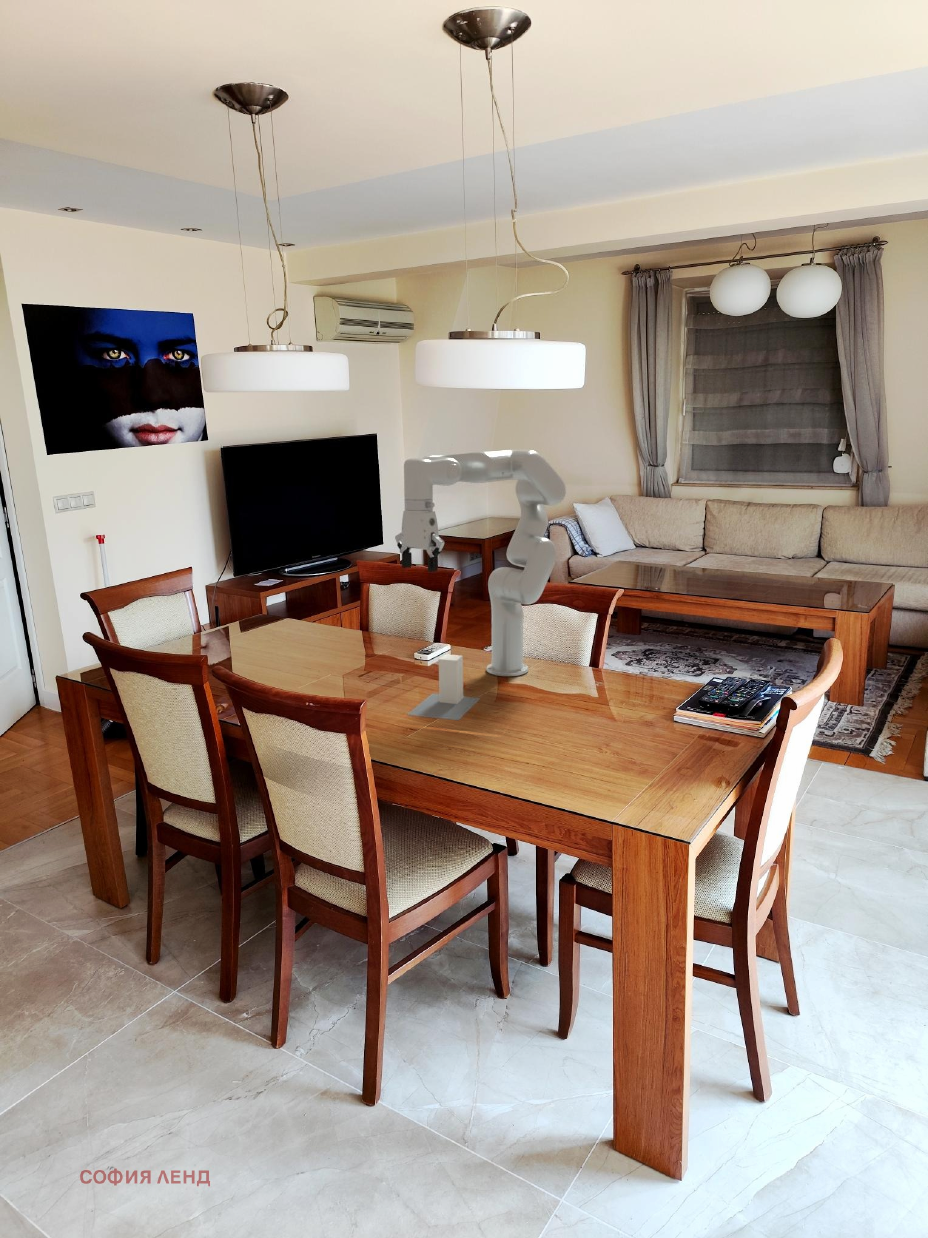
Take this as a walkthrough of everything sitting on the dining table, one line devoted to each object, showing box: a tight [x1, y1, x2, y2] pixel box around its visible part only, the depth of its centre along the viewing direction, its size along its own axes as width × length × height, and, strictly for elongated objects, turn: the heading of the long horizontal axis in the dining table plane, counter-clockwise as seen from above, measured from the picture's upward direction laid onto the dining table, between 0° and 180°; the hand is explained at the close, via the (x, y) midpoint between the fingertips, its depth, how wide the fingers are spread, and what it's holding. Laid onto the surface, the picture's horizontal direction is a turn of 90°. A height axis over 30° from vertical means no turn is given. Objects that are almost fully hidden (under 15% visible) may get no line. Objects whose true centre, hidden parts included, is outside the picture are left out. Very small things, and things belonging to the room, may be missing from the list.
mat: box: [407, 692, 481, 721], centre depth 223 cm, size 18×14×1 cm
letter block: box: [438, 653, 464, 704], centre depth 227 cm, size 5×5×12 cm
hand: (419, 569), depth 229 cm, fingers open, 9 cm apart
